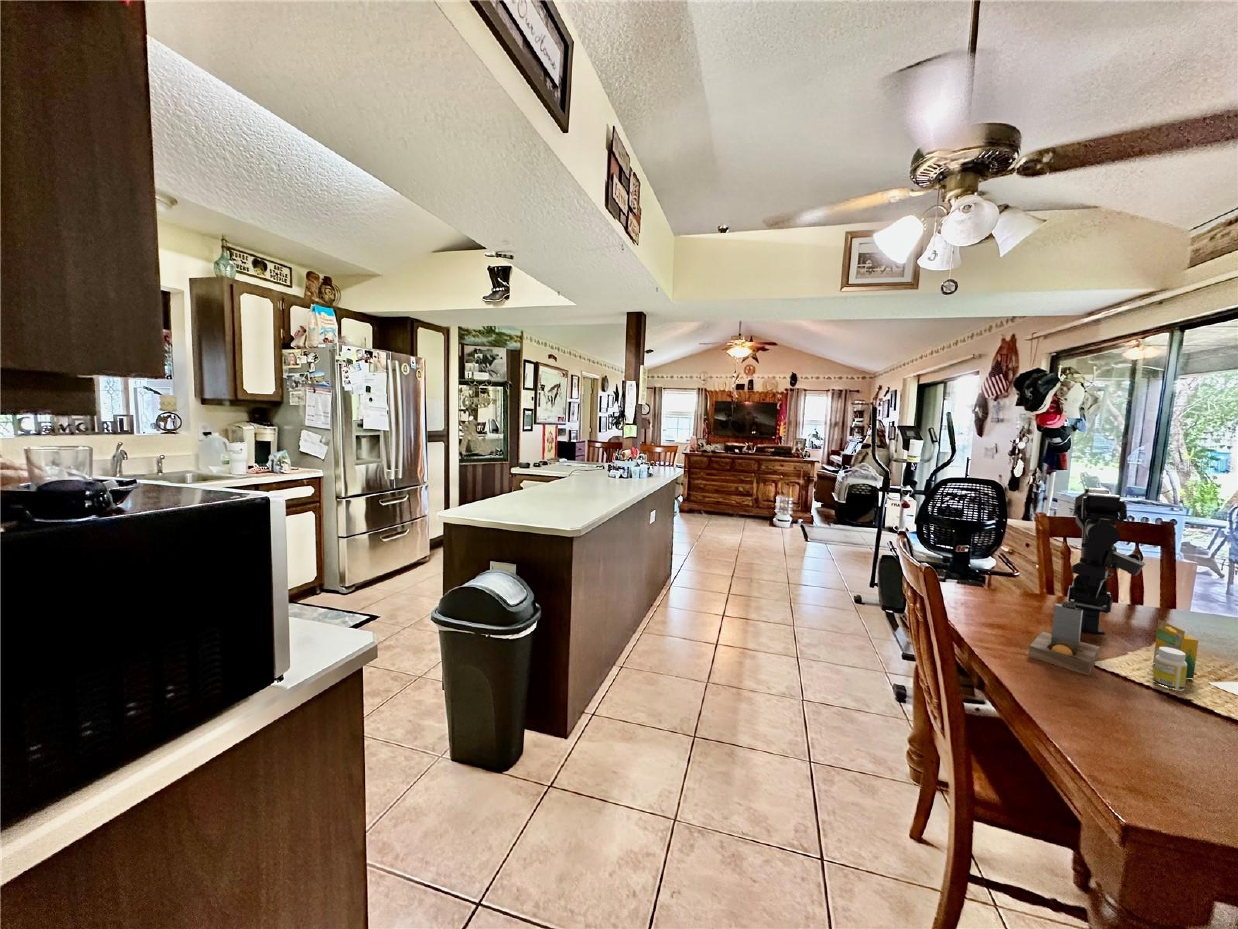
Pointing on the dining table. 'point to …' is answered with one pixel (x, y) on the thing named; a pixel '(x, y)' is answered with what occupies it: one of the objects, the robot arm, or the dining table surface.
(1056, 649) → the ball
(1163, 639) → the crayon box
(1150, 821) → the dining table surface
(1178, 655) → the supplement bottle
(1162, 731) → the dining table surface
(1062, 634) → the grey piece
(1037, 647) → the board
